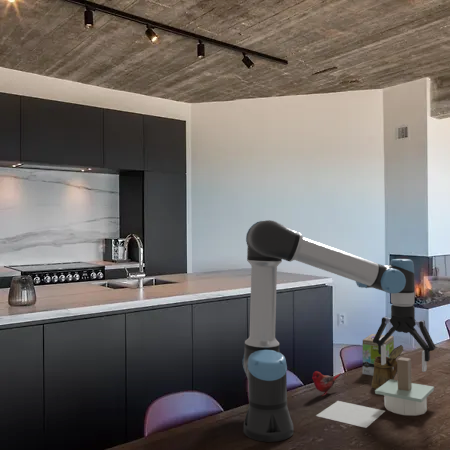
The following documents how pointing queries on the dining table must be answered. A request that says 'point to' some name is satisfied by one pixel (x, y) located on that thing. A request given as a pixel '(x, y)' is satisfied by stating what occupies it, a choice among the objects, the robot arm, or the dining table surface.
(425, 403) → the bowl
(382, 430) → the dining table surface
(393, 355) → the wooden mug
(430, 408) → the dining table surface
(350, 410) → the mat
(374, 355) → the tea box
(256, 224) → the robot arm
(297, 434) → the dining table surface
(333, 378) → the decorative bird figurine
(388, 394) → the lid
